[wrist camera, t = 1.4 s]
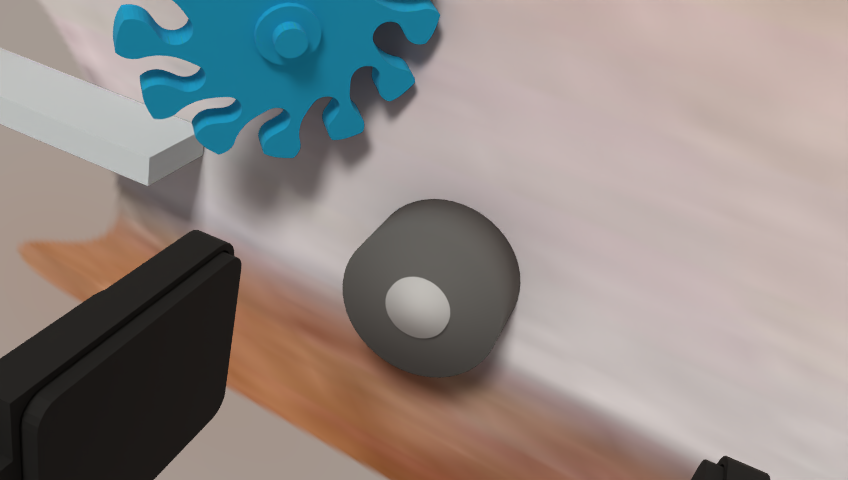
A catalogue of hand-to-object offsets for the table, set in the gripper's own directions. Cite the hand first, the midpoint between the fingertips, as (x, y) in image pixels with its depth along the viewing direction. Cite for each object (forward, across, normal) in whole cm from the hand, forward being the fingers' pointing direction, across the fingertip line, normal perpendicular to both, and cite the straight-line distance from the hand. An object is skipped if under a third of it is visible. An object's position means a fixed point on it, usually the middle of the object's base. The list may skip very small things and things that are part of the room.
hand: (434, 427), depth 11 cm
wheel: (+18, +4, +9) cm, 20 cm away
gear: (+18, +10, 0) cm, 21 cm away
